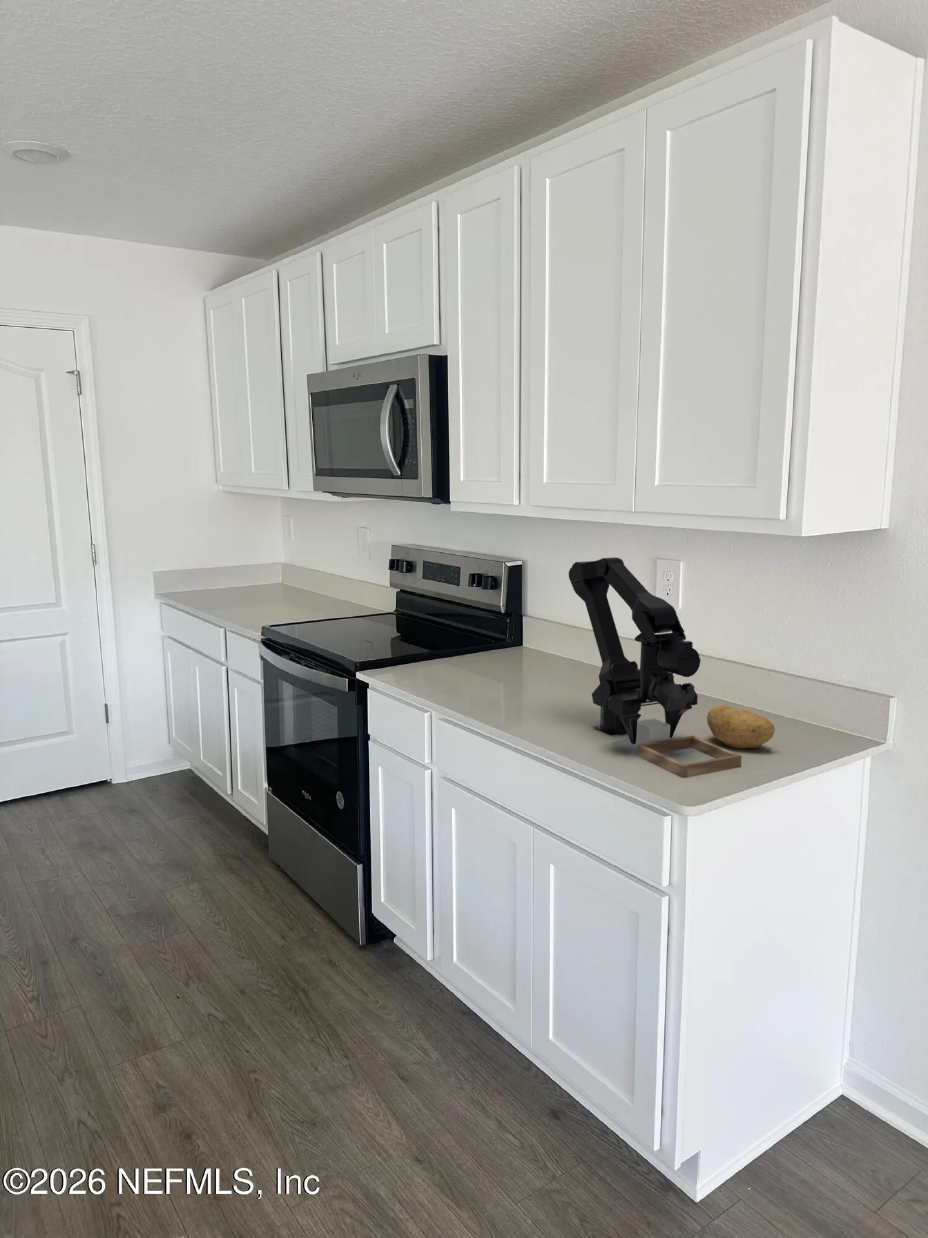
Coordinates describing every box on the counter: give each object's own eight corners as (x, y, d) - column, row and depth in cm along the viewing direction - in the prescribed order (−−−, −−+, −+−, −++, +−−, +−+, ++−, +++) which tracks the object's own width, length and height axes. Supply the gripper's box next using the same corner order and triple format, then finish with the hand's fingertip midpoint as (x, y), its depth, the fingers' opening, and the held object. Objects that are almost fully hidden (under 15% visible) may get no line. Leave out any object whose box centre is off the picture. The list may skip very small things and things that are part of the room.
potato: (758, 761, 170) (761, 721, 168) (696, 744, 180) (698, 707, 179) (783, 750, 176) (785, 712, 175) (721, 734, 187) (723, 698, 185)
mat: (610, 744, 180) (610, 742, 180) (656, 736, 185) (656, 734, 185) (645, 761, 169) (646, 759, 169) (694, 753, 174) (694, 751, 174)
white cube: (634, 744, 178) (635, 721, 177) (653, 741, 180) (654, 718, 179) (649, 752, 174) (650, 728, 173) (669, 748, 176) (670, 724, 175)
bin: (636, 757, 172) (637, 745, 171) (692, 747, 178) (692, 735, 177) (682, 779, 159) (683, 766, 159) (740, 768, 165) (741, 756, 165)
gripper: (641, 680, 163) (638, 759, 166) (718, 670, 171) (714, 745, 174) (607, 667, 173) (605, 742, 176) (681, 658, 181) (678, 730, 184)
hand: (651, 740), depth 177 cm, fingers open, 9 cm apart
